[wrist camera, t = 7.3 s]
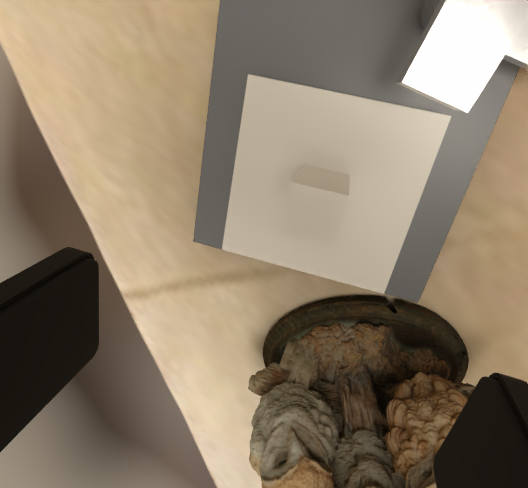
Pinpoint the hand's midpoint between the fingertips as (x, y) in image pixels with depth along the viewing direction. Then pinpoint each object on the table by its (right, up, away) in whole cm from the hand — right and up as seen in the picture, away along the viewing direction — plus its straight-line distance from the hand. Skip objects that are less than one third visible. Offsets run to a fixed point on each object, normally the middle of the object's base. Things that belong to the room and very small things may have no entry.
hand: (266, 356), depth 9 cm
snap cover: (+4, +7, +17) cm, 19 cm away
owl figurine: (+9, -7, +23) cm, 26 cm away
